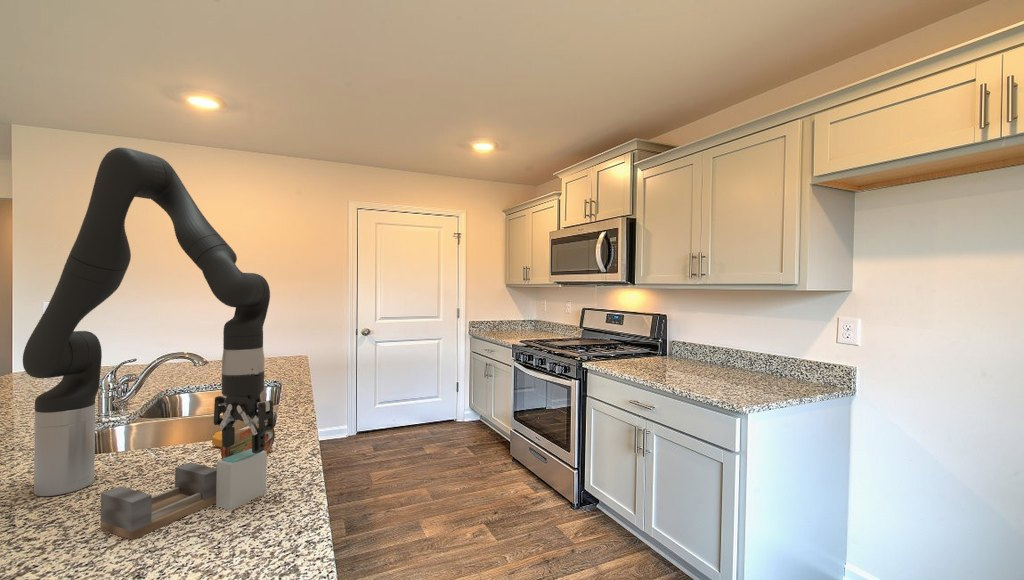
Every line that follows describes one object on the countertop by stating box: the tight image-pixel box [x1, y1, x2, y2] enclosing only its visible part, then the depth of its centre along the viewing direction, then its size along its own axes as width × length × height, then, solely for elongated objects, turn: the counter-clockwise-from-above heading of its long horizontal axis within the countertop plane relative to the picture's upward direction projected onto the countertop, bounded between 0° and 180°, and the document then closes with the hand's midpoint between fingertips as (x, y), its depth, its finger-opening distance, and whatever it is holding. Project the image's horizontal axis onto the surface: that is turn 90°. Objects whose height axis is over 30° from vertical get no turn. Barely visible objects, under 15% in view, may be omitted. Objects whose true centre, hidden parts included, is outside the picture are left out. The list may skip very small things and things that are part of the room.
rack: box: [100, 462, 217, 541], centre depth 86 cm, size 9×16×6 cm, turn 159°
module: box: [215, 449, 268, 511], centre depth 93 cm, size 4×8×9 cm, turn 159°
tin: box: [220, 421, 276, 460], centre depth 113 cm, size 15×3×8 cm, turn 168°
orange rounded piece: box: [211, 430, 270, 456], centre depth 120 cm, size 20×4×4 cm, turn 69°
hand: (243, 449), depth 92 cm, fingers open, 8 cm apart
